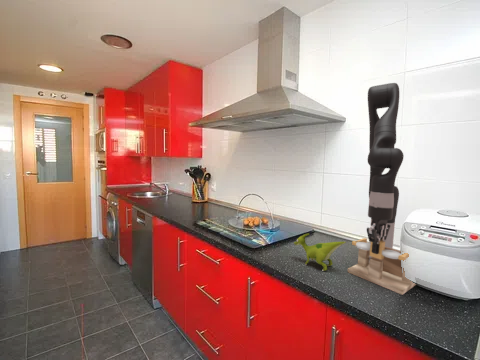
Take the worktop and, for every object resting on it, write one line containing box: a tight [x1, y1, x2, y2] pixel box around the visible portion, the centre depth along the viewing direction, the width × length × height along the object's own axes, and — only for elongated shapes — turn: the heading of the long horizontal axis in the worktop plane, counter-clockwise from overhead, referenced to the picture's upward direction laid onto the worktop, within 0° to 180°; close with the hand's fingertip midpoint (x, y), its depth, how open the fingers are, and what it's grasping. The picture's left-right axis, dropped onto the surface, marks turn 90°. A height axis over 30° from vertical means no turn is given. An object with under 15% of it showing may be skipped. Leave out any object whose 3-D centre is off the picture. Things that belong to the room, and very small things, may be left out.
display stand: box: [347, 247, 417, 295], centre depth 90 cm, size 12×19×10 cm, turn 37°
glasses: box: [351, 237, 409, 261], centre depth 89 cm, size 11×18×6 cm, turn 37°
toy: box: [293, 233, 347, 272], centre depth 99 cm, size 8×21×15 cm, turn 51°
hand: (376, 252), depth 87 cm, fingers closed on glasses
